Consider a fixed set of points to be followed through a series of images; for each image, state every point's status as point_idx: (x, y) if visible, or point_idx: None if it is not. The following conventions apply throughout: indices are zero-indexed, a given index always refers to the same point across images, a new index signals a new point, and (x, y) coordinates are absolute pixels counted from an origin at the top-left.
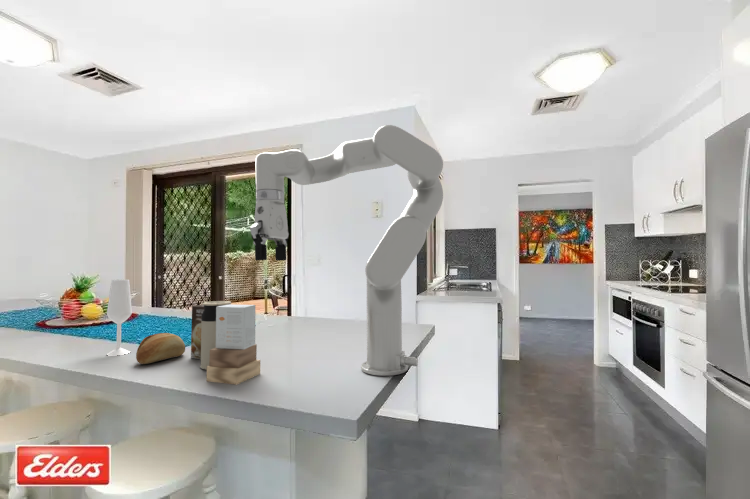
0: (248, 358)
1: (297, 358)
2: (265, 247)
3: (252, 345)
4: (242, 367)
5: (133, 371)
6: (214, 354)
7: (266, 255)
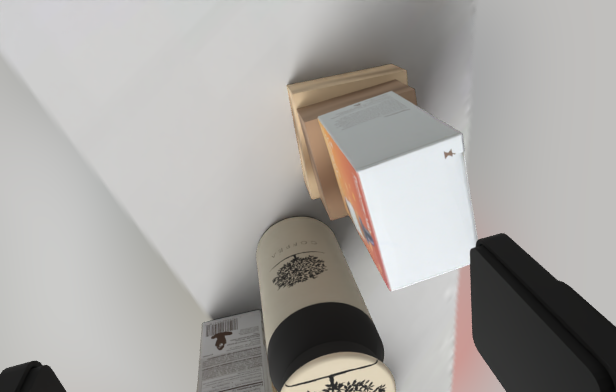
0: (346, 98)
1: (77, 108)
2: (613, 336)
3: (336, 110)
4: (382, 75)
5: (409, 362)
6: None
7: (513, 261)
